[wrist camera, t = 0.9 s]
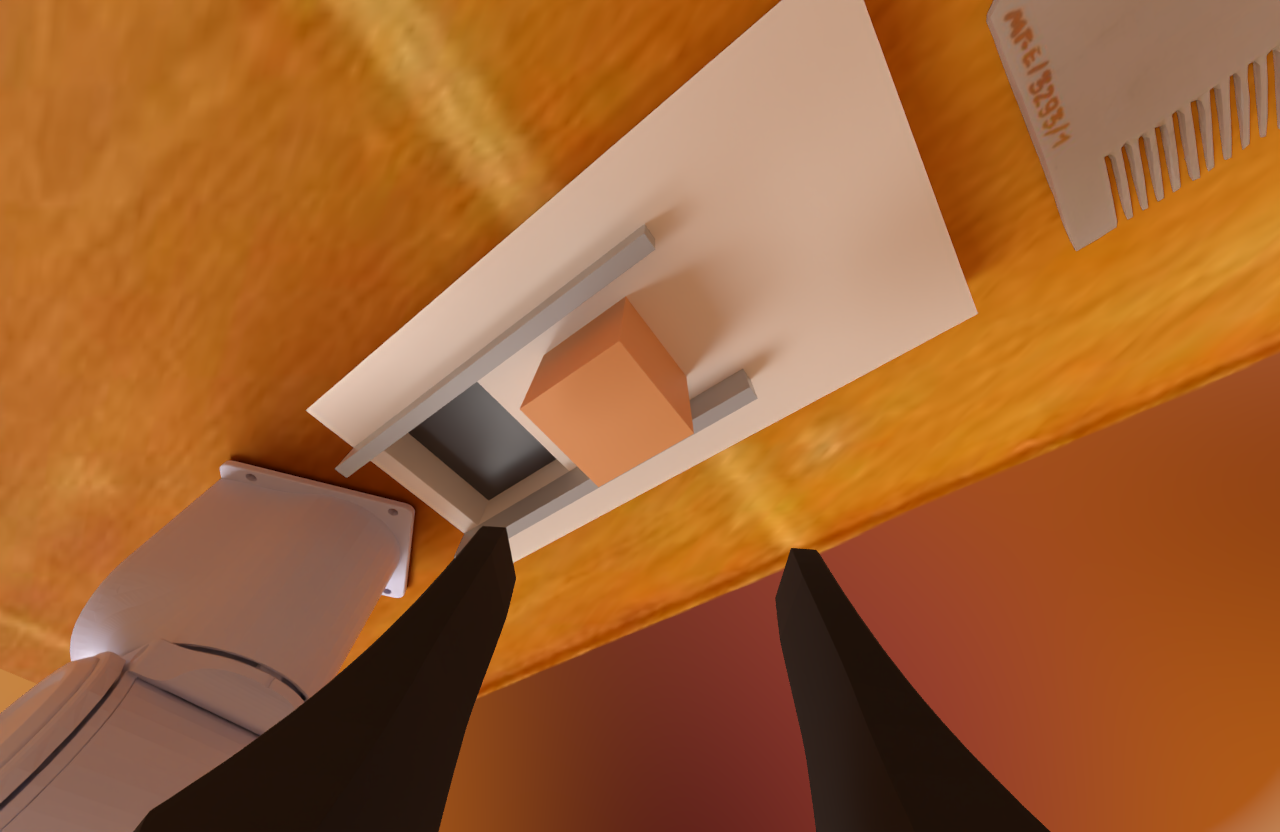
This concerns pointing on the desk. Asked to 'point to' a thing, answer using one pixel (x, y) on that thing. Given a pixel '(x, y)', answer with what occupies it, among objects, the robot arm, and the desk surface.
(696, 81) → the trough
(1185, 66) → the grooming comb
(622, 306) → the block
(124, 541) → the desk surface
